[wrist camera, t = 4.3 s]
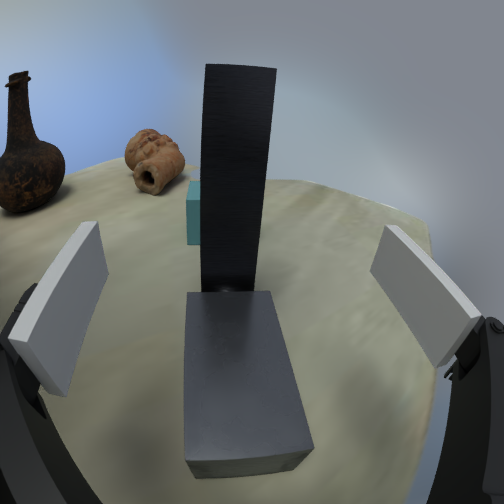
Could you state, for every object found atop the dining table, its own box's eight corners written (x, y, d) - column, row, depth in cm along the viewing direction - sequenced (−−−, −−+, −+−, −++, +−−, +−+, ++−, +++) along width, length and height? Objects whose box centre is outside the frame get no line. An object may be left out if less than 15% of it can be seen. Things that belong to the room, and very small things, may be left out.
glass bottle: (82, 186, 52) (77, 61, 37) (37, 223, 37) (22, 60, 22) (28, 189, 51) (20, 79, 36) (-17, 223, 35) (-34, 89, 21)
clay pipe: (192, 185, 65) (142, 163, 64) (207, 144, 59) (153, 123, 59) (153, 214, 49) (94, 184, 48) (167, 161, 43) (102, 134, 43)
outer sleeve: (293, 470, 13) (314, 448, 11) (195, 478, 12) (185, 460, 10) (262, 335, 23) (269, 290, 21) (191, 337, 22) (187, 292, 20)
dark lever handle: (274, 441, 14) (387, 42, 4) (208, 446, 14) (195, 7, 4) (240, 265, 30) (255, 76, 20) (202, 265, 29) (207, 73, 19)
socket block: (250, 244, 36) (254, 200, 33) (187, 244, 35) (186, 199, 31) (244, 220, 42) (247, 182, 39) (190, 220, 40) (190, 181, 37)
